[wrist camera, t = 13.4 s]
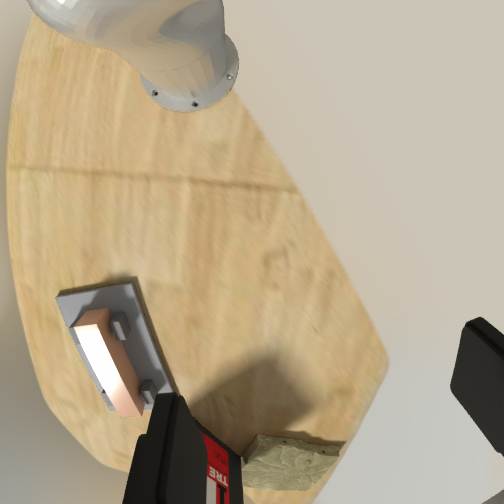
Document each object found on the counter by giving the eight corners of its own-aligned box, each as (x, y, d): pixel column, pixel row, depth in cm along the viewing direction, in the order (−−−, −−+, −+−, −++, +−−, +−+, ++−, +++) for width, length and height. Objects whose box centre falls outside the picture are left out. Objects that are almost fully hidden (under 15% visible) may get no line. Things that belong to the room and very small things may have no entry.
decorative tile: (305, 482, 63) (308, 493, 60) (228, 475, 60) (228, 487, 56) (343, 440, 58) (348, 452, 55) (257, 430, 55) (258, 443, 52)
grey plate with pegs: (57, 295, 43) (46, 306, 40) (133, 281, 44) (125, 293, 40) (111, 407, 51) (106, 421, 47) (179, 403, 51) (177, 418, 47)
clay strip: (86, 310, 43) (73, 326, 39) (108, 307, 43) (96, 324, 39) (127, 398, 49) (120, 417, 44) (147, 397, 49) (141, 416, 44)
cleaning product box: (156, 429, 53) (140, 513, 34) (191, 415, 52) (182, 506, 33) (207, 468, 58) (205, 543, 39) (240, 457, 57) (245, 536, 38)
